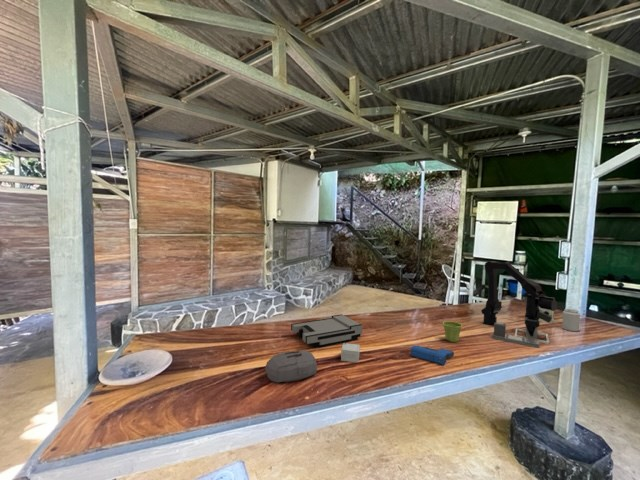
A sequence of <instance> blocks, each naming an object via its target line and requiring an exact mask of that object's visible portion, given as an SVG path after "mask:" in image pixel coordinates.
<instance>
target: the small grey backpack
mask: <svg viewBox="0 0 640 480" xmlns="http://www.w3.org/2000/svg"><path fill="white" fill-rule="evenodd" d="M265 372H266V376H267V379H268V380H270V381H271V382H274V383H283V382H284V383H289V382H296V381H300V380H304V379H308V378H310V377H312V376H315V375H316V373H317V372H318V363H317V361H316V358H315V356H314V354H313V353H311V352H310V350H293V351H290V350H287V351H285V352H280V353H277V354H275V355H272V357H271V358H270V359H268V360H267V362H266V363H265Z"/></svg>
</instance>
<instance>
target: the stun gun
mask: <svg viewBox="0 0 640 480" xmlns="http://www.w3.org/2000/svg"><path fill="white" fill-rule="evenodd" d="M454 355H455V351H454V350H449V349H446V348H440V349H434V348H429V347H428V346H427V347H426V346H423V345H422V346H421V345H418V344H417V345H412V346H411V348H410V356H411V357H414V358H416V359H417V358H418V359H422V360H424V361H428V362H432V363H434V364H435V363H436V364H439V365H442V366H445V365H446V364H447V360H449V359H452V358H453V357H454Z"/></svg>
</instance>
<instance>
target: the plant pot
mask: <svg viewBox="0 0 640 480" xmlns="http://www.w3.org/2000/svg"><path fill="white" fill-rule="evenodd" d="M442 325H443V327H444V335H445V336H444V337H445V340H446V341H448V342H451V343H452V342H453V343H457V342H459V339H460V333H461V329H462V327H463V324H461V323H459V322H456V321H450V320H449V321H448V320H445V321H443V322H442Z"/></svg>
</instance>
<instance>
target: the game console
mask: <svg viewBox="0 0 640 480" xmlns="http://www.w3.org/2000/svg"><path fill="white" fill-rule="evenodd" d="M290 325H291V326H290V330H291V331H292V332H293V333H294V334H296V335H297V336H299V337H300V338H301V337H302V341H303V342H304V343H305V344H306V345H309V346H310V347H313V348H314V349H319V348H324V347H330V346H335V345H339V344H343V343H349V342H355V341H358V338H360V337H361V335H362V334H363V324H362V323H359V322H357V321H355V320H353V319H351V318H350V317H347V316H345V315H344V314H342V313H341V314H335V315H331V317H328V318H322V319H315V320H308V321H302V322H296V323H290Z"/></svg>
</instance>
